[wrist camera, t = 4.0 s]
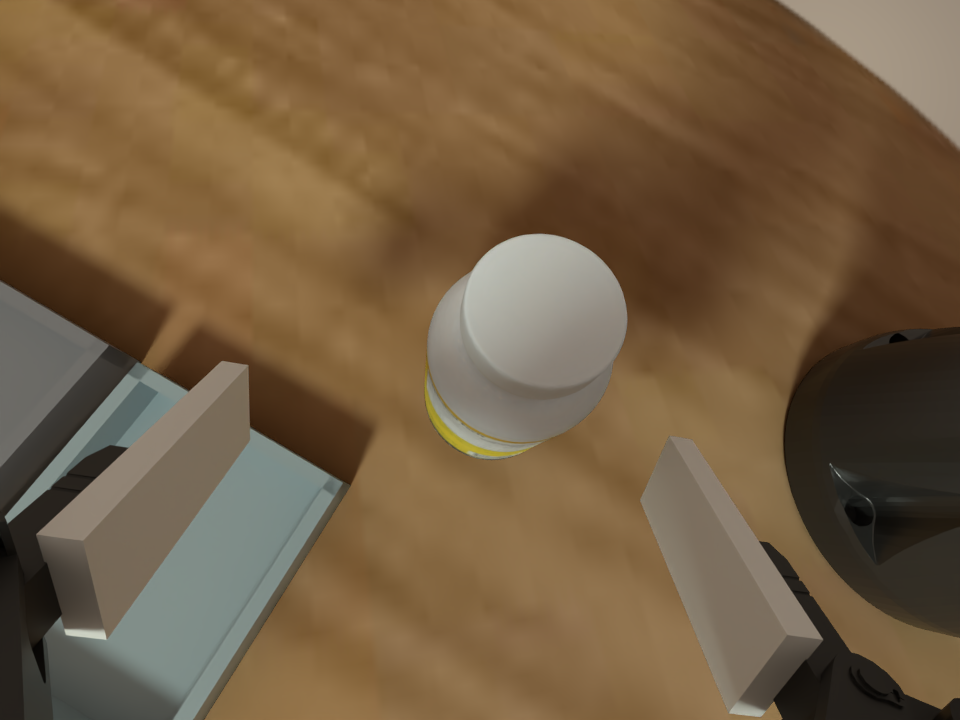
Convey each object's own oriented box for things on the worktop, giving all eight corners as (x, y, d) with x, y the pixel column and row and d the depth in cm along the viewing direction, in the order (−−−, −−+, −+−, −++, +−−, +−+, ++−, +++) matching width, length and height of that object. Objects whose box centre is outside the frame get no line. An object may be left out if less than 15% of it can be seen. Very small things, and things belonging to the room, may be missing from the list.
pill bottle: (527, 323, 26) (611, 185, 15) (568, 440, 24) (698, 384, 13) (407, 353, 24) (402, 227, 13) (444, 479, 23) (471, 454, 12)
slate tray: (166, 377, 23) (137, 361, 20) (350, 485, 22) (343, 482, 20) (-49, 639, 19) (-117, 658, 16) (169, 774, 18) (133, 813, 16)
